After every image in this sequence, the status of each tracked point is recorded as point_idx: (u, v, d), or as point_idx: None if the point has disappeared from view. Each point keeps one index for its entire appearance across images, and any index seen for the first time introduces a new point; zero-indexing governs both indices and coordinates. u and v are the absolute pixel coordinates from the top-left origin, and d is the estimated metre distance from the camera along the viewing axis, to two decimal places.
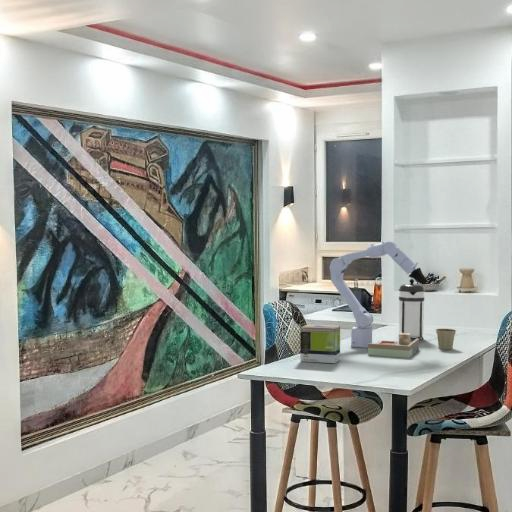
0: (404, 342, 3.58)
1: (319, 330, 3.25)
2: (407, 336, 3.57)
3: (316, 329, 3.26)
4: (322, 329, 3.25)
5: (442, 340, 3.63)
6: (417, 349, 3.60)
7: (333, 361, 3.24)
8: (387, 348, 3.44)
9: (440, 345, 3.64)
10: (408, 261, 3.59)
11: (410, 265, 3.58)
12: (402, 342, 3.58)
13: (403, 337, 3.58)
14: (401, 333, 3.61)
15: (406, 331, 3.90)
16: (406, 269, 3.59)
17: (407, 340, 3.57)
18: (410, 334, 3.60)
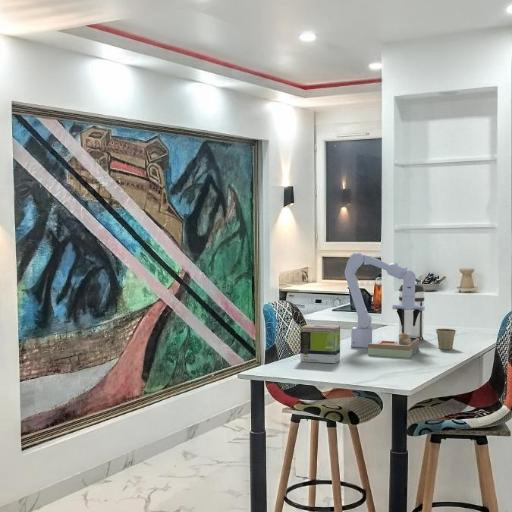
0: (404, 342, 3.58)
1: (319, 330, 3.25)
2: (407, 336, 3.57)
3: (316, 329, 3.26)
4: (322, 329, 3.25)
5: (442, 340, 3.63)
6: (417, 349, 3.60)
7: (333, 361, 3.24)
8: (387, 348, 3.44)
9: (440, 345, 3.64)
10: None
11: None
12: (402, 342, 3.58)
13: (403, 337, 3.58)
14: (401, 333, 3.61)
15: (406, 331, 3.90)
16: (413, 304, 3.64)
17: (407, 340, 3.57)
18: (410, 334, 3.60)
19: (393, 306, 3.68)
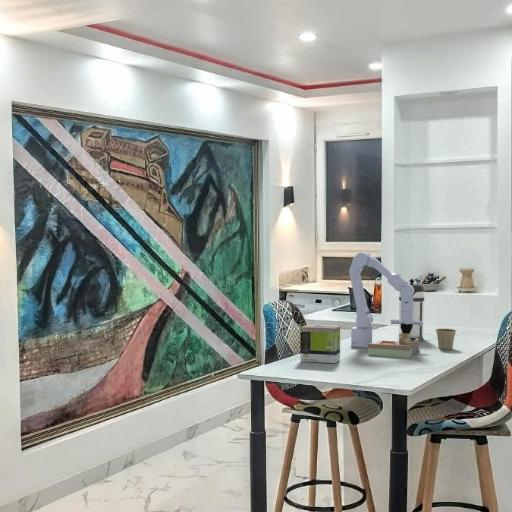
0: (404, 342, 3.57)
1: (319, 330, 3.25)
2: (407, 336, 3.57)
3: (316, 329, 3.26)
4: (322, 329, 3.25)
5: (442, 340, 3.63)
6: (417, 349, 3.60)
7: (333, 361, 3.24)
8: (387, 348, 3.44)
9: (440, 345, 3.64)
10: None
11: None
12: (402, 342, 3.58)
13: (403, 337, 3.57)
14: (401, 333, 3.61)
15: None
16: (411, 319, 3.61)
17: (407, 340, 3.57)
18: (410, 334, 3.60)
19: (391, 321, 3.65)
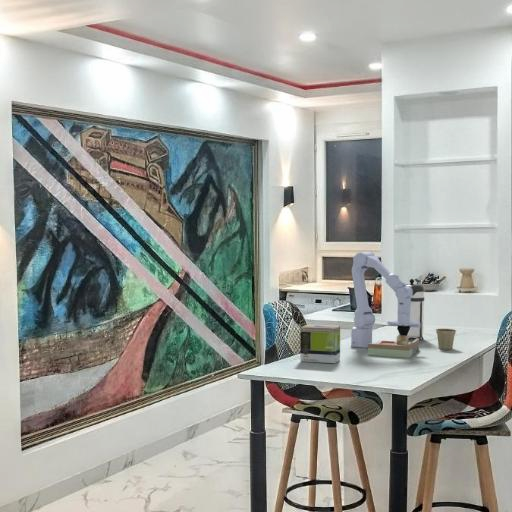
0: (402, 344, 3.50)
1: (319, 330, 3.25)
2: (405, 338, 3.50)
3: (316, 329, 3.26)
4: (322, 329, 3.25)
5: (442, 340, 3.63)
6: (417, 349, 3.60)
7: (333, 361, 3.24)
8: (387, 348, 3.44)
9: (440, 345, 3.64)
10: None
11: None
12: (400, 344, 3.51)
13: (401, 339, 3.51)
14: (399, 335, 3.54)
15: None
16: (408, 321, 3.54)
17: (405, 342, 3.50)
18: (408, 336, 3.53)
19: (388, 323, 3.58)
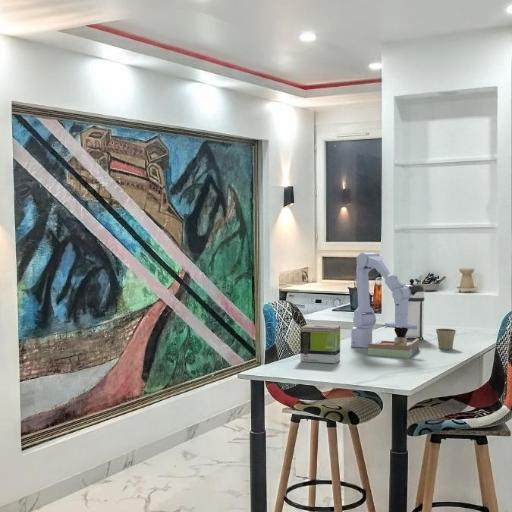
0: None
1: (319, 330, 3.25)
2: (403, 340, 3.44)
3: (316, 329, 3.26)
4: (322, 329, 3.25)
5: (442, 340, 3.63)
6: (417, 349, 3.60)
7: (333, 361, 3.24)
8: (387, 348, 3.44)
9: (440, 345, 3.64)
10: None
11: None
12: None
13: (399, 341, 3.45)
14: (397, 337, 3.48)
15: None
16: (405, 322, 3.48)
17: (403, 344, 3.44)
18: (406, 338, 3.47)
19: (385, 324, 3.52)
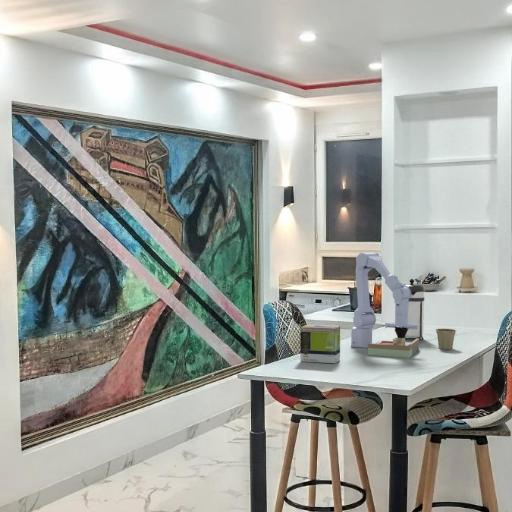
0: None
1: (319, 330, 3.25)
2: (401, 341, 3.42)
3: (316, 329, 3.26)
4: (322, 329, 3.25)
5: (442, 340, 3.63)
6: (417, 349, 3.60)
7: (333, 361, 3.24)
8: (387, 348, 3.44)
9: (440, 345, 3.64)
10: None
11: None
12: None
13: (397, 342, 3.43)
14: (395, 338, 3.46)
15: None
16: (406, 322, 3.49)
17: None
18: (404, 339, 3.45)
19: (385, 324, 3.53)
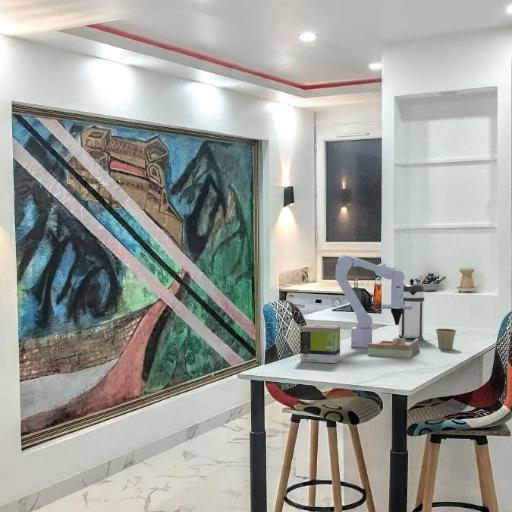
0: None
1: (319, 330, 3.26)
2: (401, 341, 3.42)
3: (316, 329, 3.26)
4: (322, 329, 3.25)
5: (442, 340, 3.63)
6: (417, 349, 3.60)
7: (333, 361, 3.24)
8: (387, 348, 3.44)
9: (440, 345, 3.64)
10: None
11: None
12: None
13: (397, 342, 3.43)
14: (395, 338, 3.46)
15: (406, 331, 3.90)
16: (401, 303, 3.66)
17: None
18: (404, 339, 3.45)
19: (382, 306, 3.70)
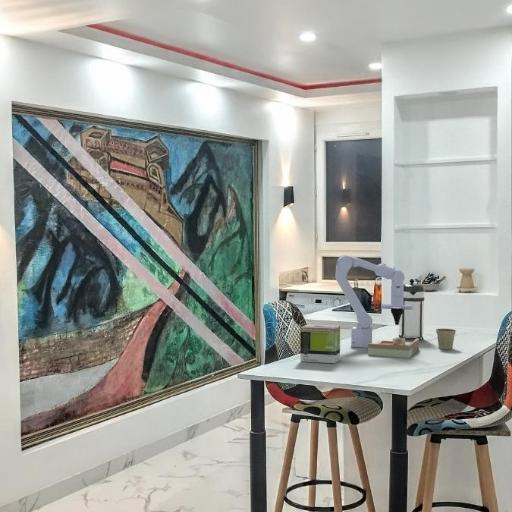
0: None
1: (319, 330, 3.25)
2: (401, 341, 3.42)
3: (316, 329, 3.26)
4: (322, 329, 3.25)
5: (442, 340, 3.63)
6: (417, 349, 3.60)
7: (333, 361, 3.24)
8: (387, 348, 3.44)
9: (440, 345, 3.64)
10: None
11: None
12: None
13: (397, 342, 3.43)
14: (395, 338, 3.46)
15: (406, 331, 3.90)
16: (401, 303, 3.66)
17: None
18: (404, 339, 3.45)
19: (382, 306, 3.70)
